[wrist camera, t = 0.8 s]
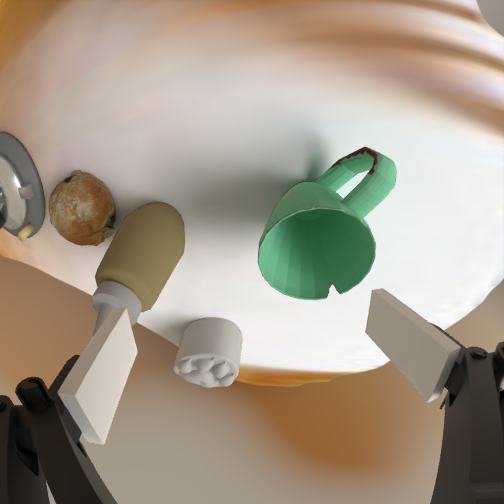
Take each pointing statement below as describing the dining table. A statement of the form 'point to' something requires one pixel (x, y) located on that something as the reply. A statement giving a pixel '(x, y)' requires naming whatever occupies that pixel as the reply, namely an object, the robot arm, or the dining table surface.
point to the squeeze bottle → (139, 261)
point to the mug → (325, 229)
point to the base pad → (29, 174)
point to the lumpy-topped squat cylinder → (209, 352)
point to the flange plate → (13, 195)
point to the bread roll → (82, 209)
